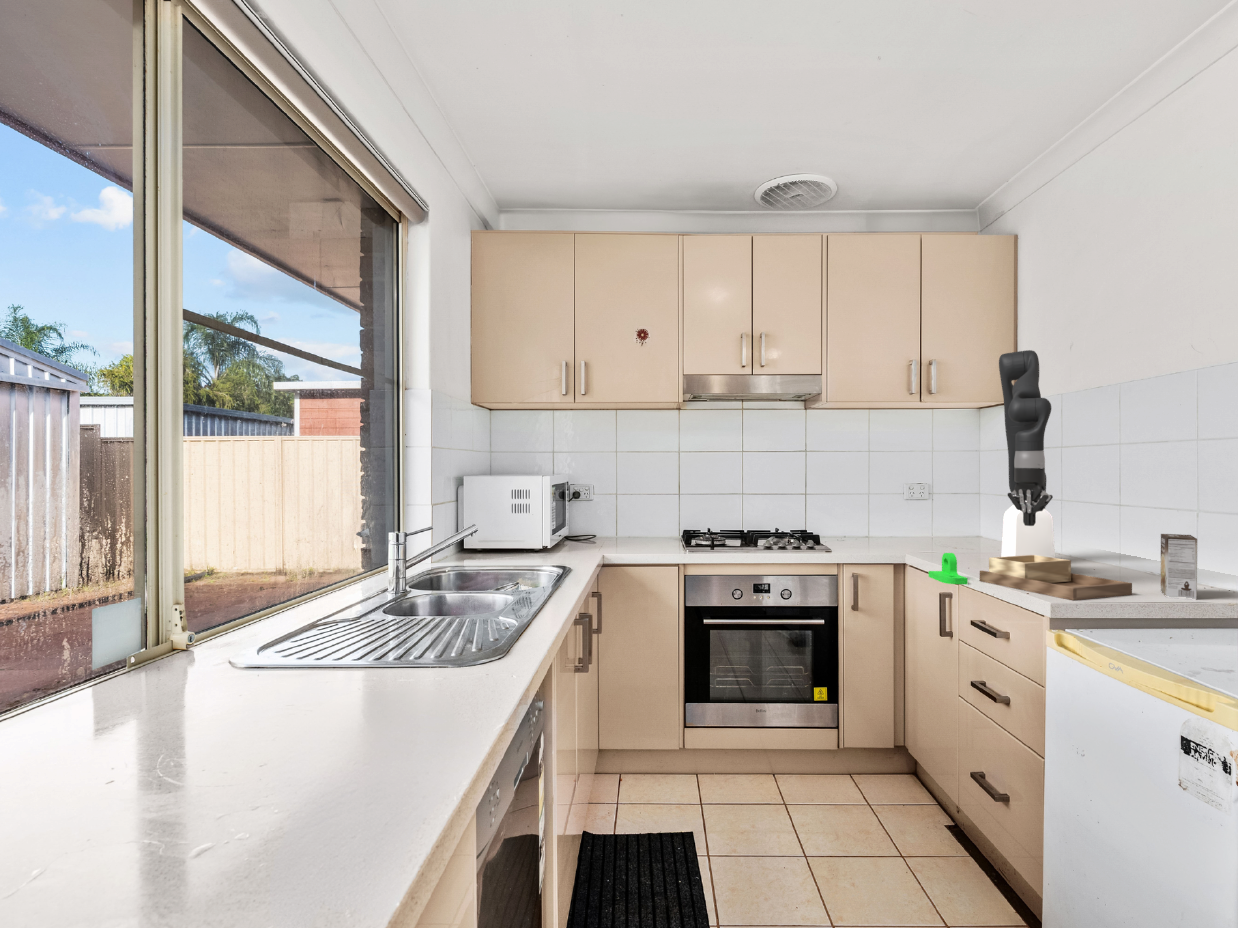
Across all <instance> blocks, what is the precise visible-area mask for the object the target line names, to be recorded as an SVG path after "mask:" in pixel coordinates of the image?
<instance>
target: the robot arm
mask: <svg viewBox="0 0 1238 928" xmlns="http://www.w3.org/2000/svg"><path fill="white" fill-rule="evenodd" d="M998 370H999V378H1000V384H1001V389H1002V390H1001V391H1002V398H1003V407H1004V408H1003V409H1004V410H1003V411H1004V425H1005V438H1006V443H1007V445H1006V446H1007V454H1008V455H1007V456H1008V458H1007V459H1008V486H1009V490H1010V492H1008V493H1007V497H1008V498H1009V500H1010V502H1011V503H1012V504H1013V505H1014V506H1015V507H1016V509H1017V510H1020V511H1022V512H1023V523H1024V525H1025V526H1034V524H1035V523H1036V512H1039V511H1043V509H1046V507H1047V506H1048V504H1049V503H1050V502H1051V501H1052V499H1053V495H1052V494H1048V493H1047V474H1046V459H1045V450H1044V449H1045V432H1046V428H1047V425H1048V421H1049V418H1050V416H1051V412H1052V404H1051V402H1050V401H1049V399H1047V398H1045V397H1042V396H1041V390H1040V386H1039V385H1040V383H1039V382H1040V360H1039V356H1038V353H1036V351H1035V350H1032V349H1031V350H1030V349H1029V350H1028V349H1027V350H1019V351H1013V352H1006V353H1002V354H1000V356H999V360H998ZM1013 381H1015V382H1014V384H1013ZM1025 501H1027V502H1025ZM1032 501H1034V502H1032Z"/></svg>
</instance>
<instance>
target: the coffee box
mask: <svg viewBox="0 0 1238 928" xmlns="http://www.w3.org/2000/svg"><path fill="white" fill-rule="evenodd" d="M1197 576H1198V538H1196V536H1193V535H1191V534H1181V533H1180V534H1176V533H1174V534H1173V533H1160V592H1161V591H1162V592H1161V593H1162V594H1163V593H1164V594H1163V596H1165V595H1166V596H1169V597H1186V598H1192V599H1197V597H1198V595H1197V594H1198V593H1197V592H1198V590H1197V588H1198V587H1197V586H1198V584H1197V583H1198V577H1197ZM1166 596H1165V597H1166ZM1192 599H1191V600H1192Z"/></svg>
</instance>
